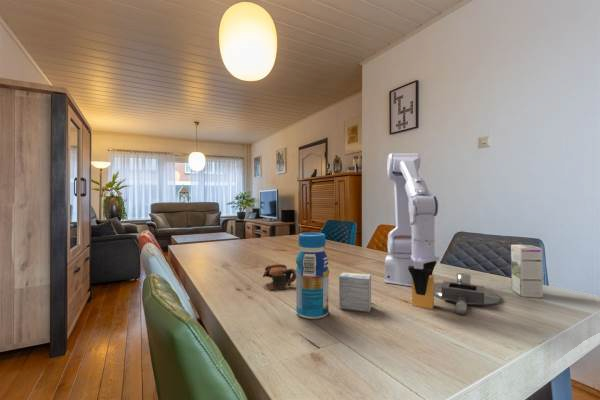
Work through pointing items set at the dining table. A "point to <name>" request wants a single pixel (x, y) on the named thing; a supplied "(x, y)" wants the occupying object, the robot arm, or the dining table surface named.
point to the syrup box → (527, 270)
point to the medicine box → (355, 291)
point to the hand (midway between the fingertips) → (423, 290)
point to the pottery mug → (279, 276)
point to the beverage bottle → (312, 277)
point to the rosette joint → (465, 293)
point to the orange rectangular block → (426, 299)
